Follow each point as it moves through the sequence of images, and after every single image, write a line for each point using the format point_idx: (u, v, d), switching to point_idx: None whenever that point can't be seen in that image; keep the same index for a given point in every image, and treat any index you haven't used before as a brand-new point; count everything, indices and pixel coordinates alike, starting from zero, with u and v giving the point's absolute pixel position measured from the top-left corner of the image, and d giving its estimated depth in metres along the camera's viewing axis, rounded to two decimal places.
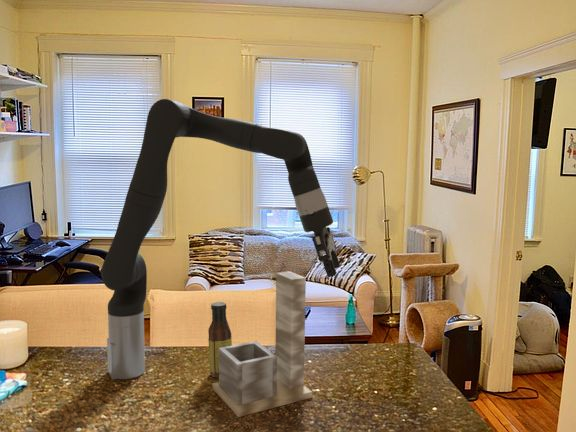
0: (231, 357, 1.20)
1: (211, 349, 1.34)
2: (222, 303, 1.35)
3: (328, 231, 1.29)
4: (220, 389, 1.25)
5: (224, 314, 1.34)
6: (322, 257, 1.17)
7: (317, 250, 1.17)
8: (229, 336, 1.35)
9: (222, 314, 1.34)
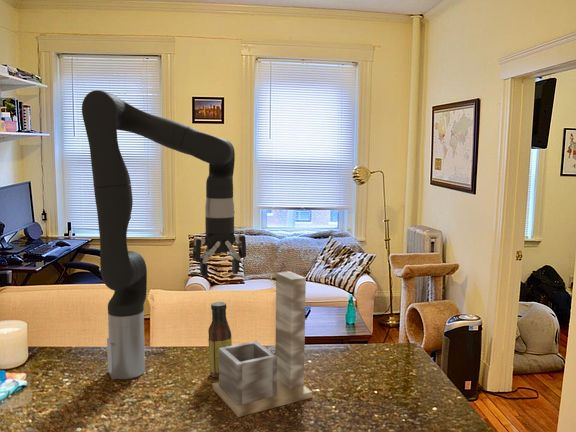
0: (231, 357, 1.20)
1: (211, 349, 1.34)
2: (222, 303, 1.35)
3: (241, 239, 1.35)
4: (220, 389, 1.25)
5: (224, 314, 1.34)
6: (194, 257, 1.30)
7: (193, 250, 1.30)
8: (229, 336, 1.35)
9: (222, 314, 1.34)
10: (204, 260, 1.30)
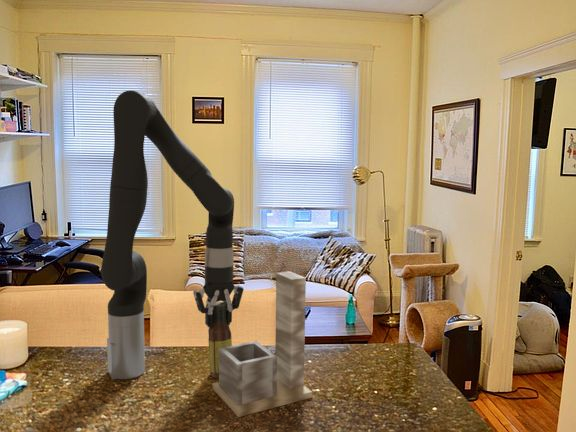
0: (231, 357, 1.20)
1: (211, 350, 1.34)
2: (222, 303, 1.35)
3: (238, 290, 1.36)
4: (220, 389, 1.25)
5: (224, 314, 1.34)
6: (199, 308, 1.32)
7: (196, 302, 1.32)
8: (229, 336, 1.35)
9: (222, 314, 1.34)
10: (209, 311, 1.32)
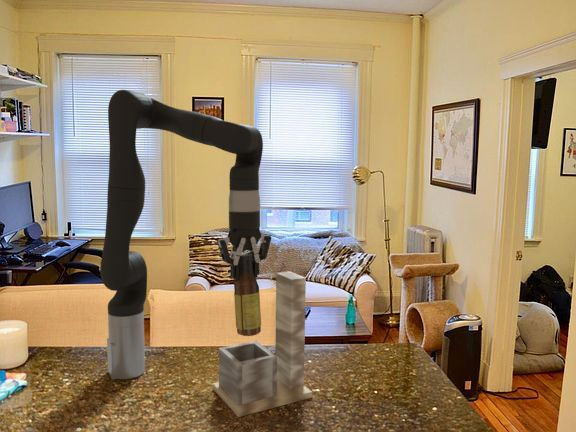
0: (231, 357, 1.20)
1: (237, 304, 1.22)
2: (248, 253, 1.23)
3: (266, 239, 1.24)
4: (220, 389, 1.25)
5: (251, 265, 1.22)
6: (224, 258, 1.20)
7: (220, 252, 1.20)
8: (257, 289, 1.22)
9: (249, 264, 1.21)
10: (235, 261, 1.20)
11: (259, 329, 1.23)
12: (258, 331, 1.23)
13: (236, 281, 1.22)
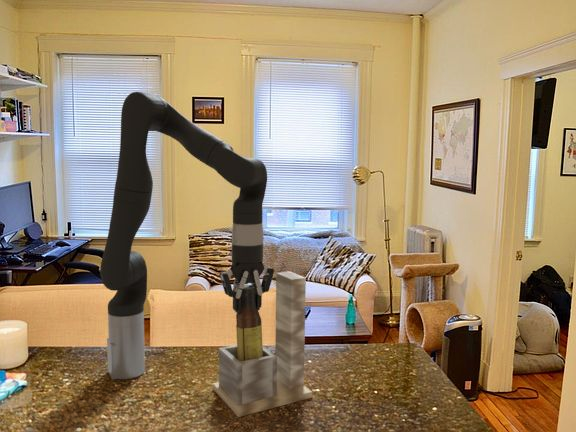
0: (231, 357, 1.20)
1: (239, 337, 1.21)
2: (251, 286, 1.22)
3: (269, 271, 1.23)
4: (220, 389, 1.25)
5: (253, 298, 1.21)
6: (227, 291, 1.19)
7: (223, 285, 1.19)
8: (259, 322, 1.22)
9: (251, 297, 1.21)
10: (237, 295, 1.19)
11: None
12: None
13: (238, 314, 1.21)
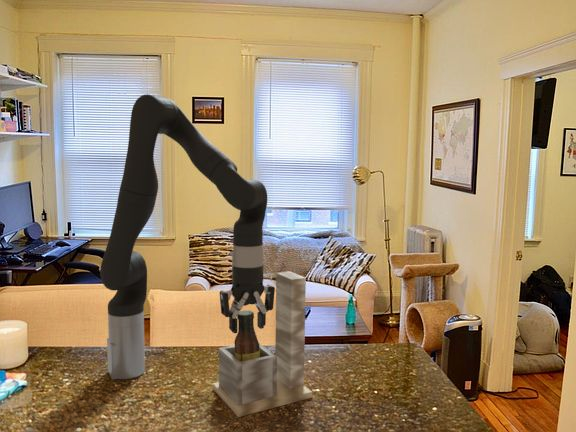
0: (231, 357, 1.20)
1: None
2: (249, 312, 1.23)
3: (269, 290, 1.24)
4: (220, 389, 1.25)
5: (252, 324, 1.22)
6: (223, 312, 1.19)
7: None
8: (257, 348, 1.22)
9: (249, 323, 1.21)
10: (234, 315, 1.19)
11: None
12: None
13: (237, 340, 1.22)
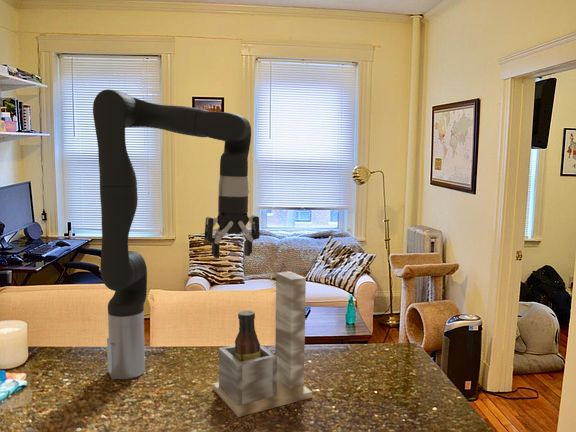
0: (231, 357, 1.20)
1: None
2: (250, 312, 1.23)
3: (254, 220, 1.30)
4: (220, 389, 1.25)
5: (253, 324, 1.22)
6: (206, 237, 1.26)
7: (205, 229, 1.26)
8: (258, 348, 1.22)
9: (250, 324, 1.21)
10: (216, 240, 1.25)
11: None
12: None
13: (237, 340, 1.22)
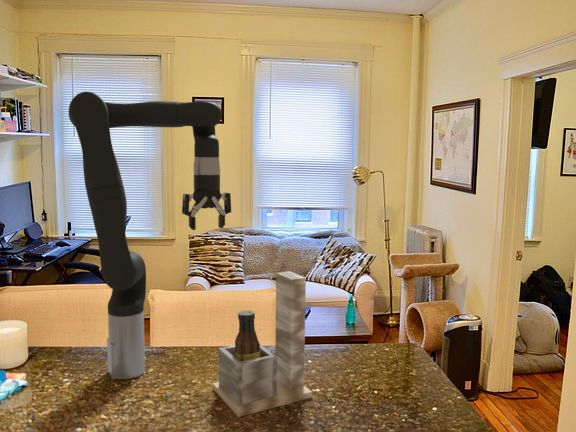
0: (231, 357, 1.20)
1: None
2: (250, 312, 1.23)
3: (226, 196, 1.47)
4: (220, 389, 1.25)
5: (252, 324, 1.22)
6: (183, 211, 1.43)
7: (182, 204, 1.43)
8: (258, 348, 1.22)
9: (250, 324, 1.21)
10: (192, 214, 1.43)
11: None
12: None
13: (237, 340, 1.22)
